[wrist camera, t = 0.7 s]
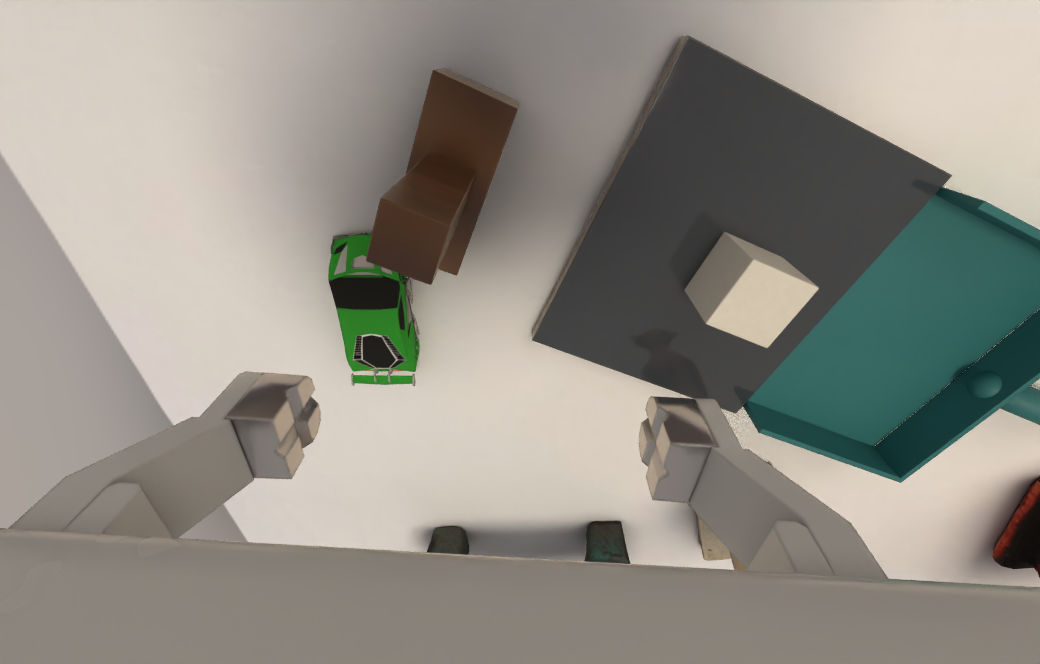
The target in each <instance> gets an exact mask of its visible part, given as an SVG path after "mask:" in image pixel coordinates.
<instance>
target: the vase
mask: <svg viewBox="0 0 1040 664" xmlns="http://www.w3.org/2000/svg"><path fill="white" fill-rule="evenodd" d="M993 558H994V560H995V561H996V562H997V563H998V564H1000V565H1001V566H1002V567H1007V568H1011V569H1022V568H1034V569H1035V570H1036V571H1037V572H1038V574H1039V577H1040V478H1039V479H1037V480H1036V481H1035V482H1034V483H1033V484H1032V485H1031V486H1030V488H1029V490H1028V492H1027V494H1026V495H1025V496H1024V498H1023V502H1022V503H1021V504H1020V505H1019V506H1018V508H1017V510H1016V511H1015V513H1014V515H1013V516H1012V518H1011V520H1010V522H1009V524H1008V526H1007V528H1006V530H1005V531H1004V533H1003V534H1002V536H1001V537H1000V539H999V541H998V543H997V545H996V547H995V549H994V551H993Z"/></svg>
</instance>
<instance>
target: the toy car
mask: <svg viewBox="0 0 1040 664" xmlns="http://www.w3.org/2000/svg"><path fill="white" fill-rule="evenodd" d="M371 236H372V235H370V234H367V233H366V234H365V235H362V234H360V235H355V236H351V237H350V236H348V235H342V236H335V237H333V241H332V245H331V254H332V255H331V260H330V265H329V284H330V287H331V291H332V294H333V298H334V301H335V305H336V309H337V312H338V317H339V321H340V326H341V331H342V335H343V340H344V345H345V352H346V357H347V361H348V363H349V365H350V367H351V369H352V370H353V371H374V376H366V375H354V374H353V373H352V375H351V381H352V386H354V384H355V383H363V384H381V385H388V384H412V383H413V386H415V375H414V374H413V375H412V376H390V374H392V372H393V371H412V372H415V371H416V366H417V360H418V355H419V341H418V339H417V338H415V334H416V335H417V336H418V335H419V330H418V327H417V324H416V320H415V317H414V318H413V317H412V313H411V307H410V302H409V296H411V301H412V291H411V285H410V279H407V280H406V279H405V278H406V276H405V275H402V274H399V273H397V272H394V271H391V270H388V269H386V268H383V267H380V266H377V265H375V264H372V263H369V262H367V261H366V257H367V253H368V249H369V244H370V240H371ZM412 304H413V302H412ZM413 316H414V315H413ZM408 337H409V338H408ZM378 371H389V372H388V376H376V373H378Z"/></svg>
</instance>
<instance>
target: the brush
mask: <svg viewBox="0 0 1040 664" xmlns="http://www.w3.org/2000/svg"><path fill="white" fill-rule="evenodd" d="M518 106H519V102H518V101H516V100H513V99H511V98H509V97H507V96H505V95H503V94H500V93H498V92H496V91H494V90H492V89H490V88H487V87H485V86H483V85H481V84H479V83H477V82H474V81H472V80H470V79H468V78H466V77H464V76H461V75H459V74H457V73H455V72H453V71H451V70H448V69H446V68H442V69H436V70H433V71H432V75H431V79H430V83H429V87H428V90H427V94H426V98H425V102H424V106H423V110H422V113H421V117H420V121H419V125H418V129H417V133H416V136H415V140H414V144H413V148H412V152H411V156H410V159H409V163H408V167H407V171H406V175H405V176H404V177H403V178H402V179H401V180H400V181H399V182H398V183H397V184H395V185H394V186H393V187H392V188H391V189H390V190H389V191H388V192H387V193H386V194H385V195H384V196H383V197H382V198H381V199H380V202H379V206H378V211H377V215H376V219H375V223H374V228H373V232H372V236H371V240H370V244H369V249H368V253H367V257H366V261H367V262H369V263H372V264H375V265H377V266H380V267H383V268H386V269H388V270H391V271H394V272H397V273H399V274H402V275H405V276H407V277H410V278H413V279H416V280H418V281H421V282H424V283H427V284H429V285H431V284H432V282H433V279H434V277H435V275H436V273H437V270H438V269H440V270H443V271H445V272H448V273H451V274H453V275H457V274H458V271H459V268H460V266H461V263H462V260H463V257H464V255H465V252H466V249H467V246H468V244H469V241H470V238H471V235H472V233H473V230H474V227H475V224H476V222H477V219H478V216H479V213H480V211H481V208H482V205H483V203H484V200H485V197H486V194H487V192H488V189H489V186H490V183H491V181H492V178H493V175H494V172H495V170H496V167H497V164H498V161H499V159H500V156H501V153H502V150H503V148H504V145H505V142H506V139H507V137H508V134H509V131H510V129H511V126H512V123H513V120H514V118H515V115H516V112H517V109H518Z"/></svg>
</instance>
